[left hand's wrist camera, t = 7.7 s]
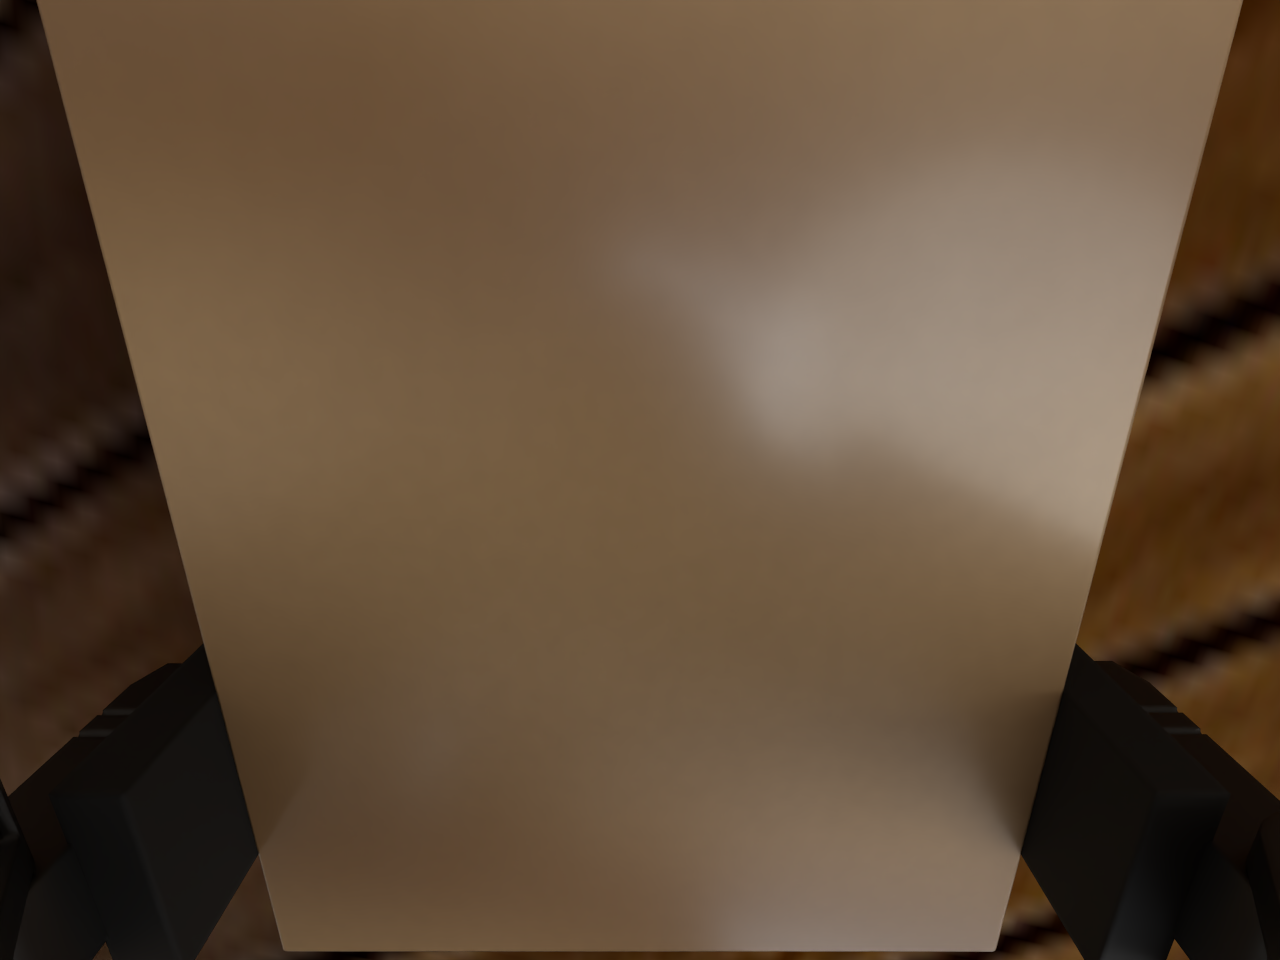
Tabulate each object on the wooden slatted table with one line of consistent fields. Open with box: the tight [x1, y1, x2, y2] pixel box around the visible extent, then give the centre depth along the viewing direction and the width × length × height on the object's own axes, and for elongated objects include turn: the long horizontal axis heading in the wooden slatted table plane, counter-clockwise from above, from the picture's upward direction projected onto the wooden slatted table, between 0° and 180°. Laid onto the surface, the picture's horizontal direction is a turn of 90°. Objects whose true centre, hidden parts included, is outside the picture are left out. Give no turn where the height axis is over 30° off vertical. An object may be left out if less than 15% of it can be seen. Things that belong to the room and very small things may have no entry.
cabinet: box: [37, 0, 1243, 952], centre depth 10 cm, size 22×10×9 cm, turn 0°
